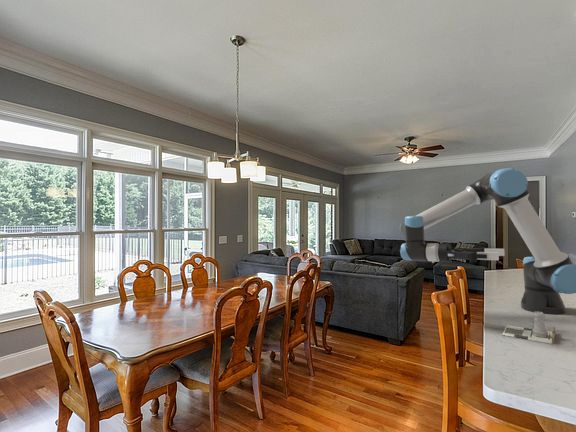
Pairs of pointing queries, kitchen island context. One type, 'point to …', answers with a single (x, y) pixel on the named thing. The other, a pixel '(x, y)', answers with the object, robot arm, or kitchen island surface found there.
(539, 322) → the rook chess piece
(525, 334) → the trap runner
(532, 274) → the robot arm
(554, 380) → the kitchen island surface
